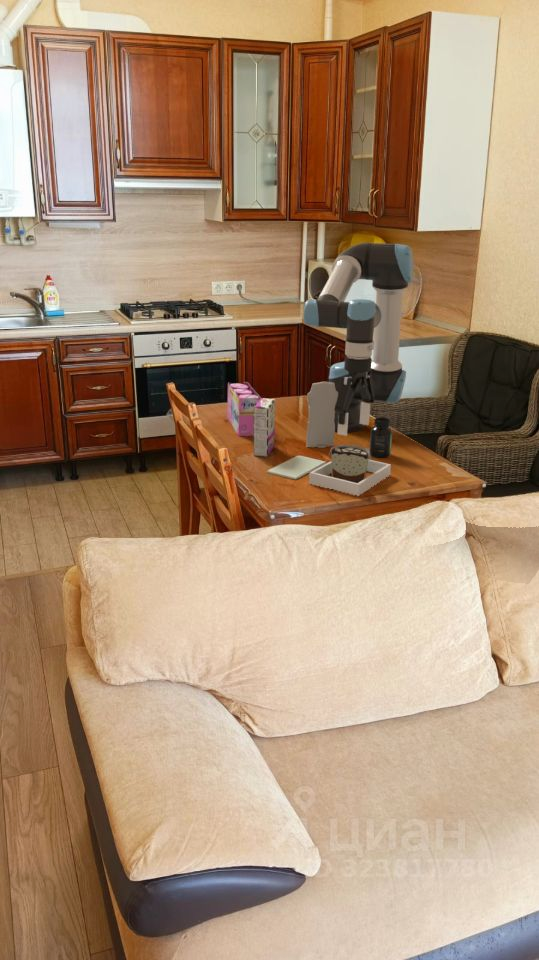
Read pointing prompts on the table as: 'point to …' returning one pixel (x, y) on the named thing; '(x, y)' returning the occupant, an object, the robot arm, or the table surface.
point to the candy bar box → (264, 427)
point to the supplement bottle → (380, 438)
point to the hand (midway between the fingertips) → (353, 429)
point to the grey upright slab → (321, 415)
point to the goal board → (296, 467)
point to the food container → (349, 462)
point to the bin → (322, 480)
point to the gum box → (242, 407)
